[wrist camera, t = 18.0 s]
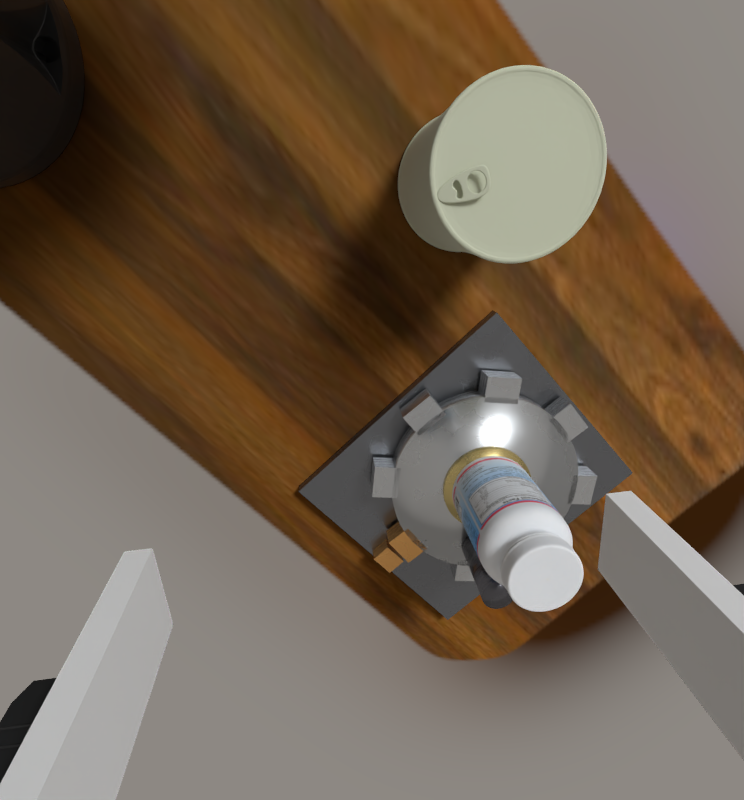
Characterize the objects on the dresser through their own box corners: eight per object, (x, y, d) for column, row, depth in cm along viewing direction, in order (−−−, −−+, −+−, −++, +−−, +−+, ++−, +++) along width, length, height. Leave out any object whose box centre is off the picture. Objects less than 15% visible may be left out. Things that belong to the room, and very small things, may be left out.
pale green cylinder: (380, 136, 36) (406, 98, 24) (509, 91, 35) (597, 30, 24) (418, 269, 39) (457, 289, 27) (537, 227, 38) (626, 231, 27)
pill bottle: (512, 526, 42) (575, 629, 32) (441, 514, 41) (481, 615, 31) (537, 460, 41) (612, 545, 30) (463, 445, 40) (514, 527, 29)
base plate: (299, 485, 44) (297, 499, 41) (492, 310, 40) (501, 315, 38) (445, 612, 49) (450, 629, 47) (626, 467, 46) (640, 479, 44)
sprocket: (362, 565, 45) (369, 633, 38) (381, 363, 39) (395, 397, 32) (561, 569, 47) (605, 634, 40) (608, 377, 41) (669, 412, 34)
